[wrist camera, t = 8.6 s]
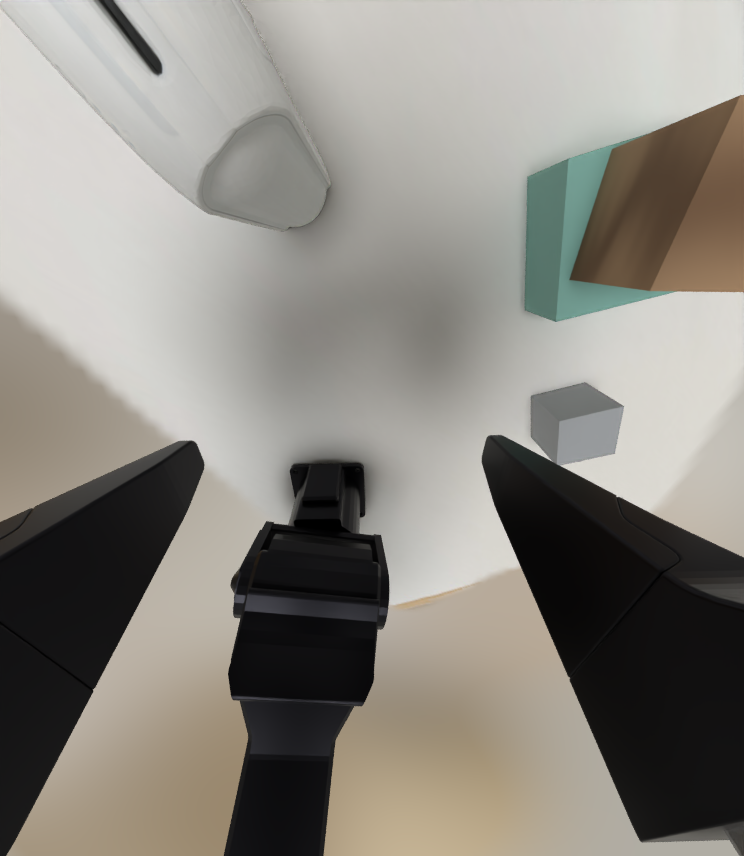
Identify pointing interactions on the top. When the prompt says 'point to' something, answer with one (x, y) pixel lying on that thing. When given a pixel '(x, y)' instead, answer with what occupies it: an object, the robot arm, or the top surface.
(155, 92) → the photo printer
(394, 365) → the top surface
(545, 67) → the top surface
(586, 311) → the teal base block
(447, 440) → the top surface
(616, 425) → the slate block
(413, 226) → the top surface
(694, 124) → the walnut cube
